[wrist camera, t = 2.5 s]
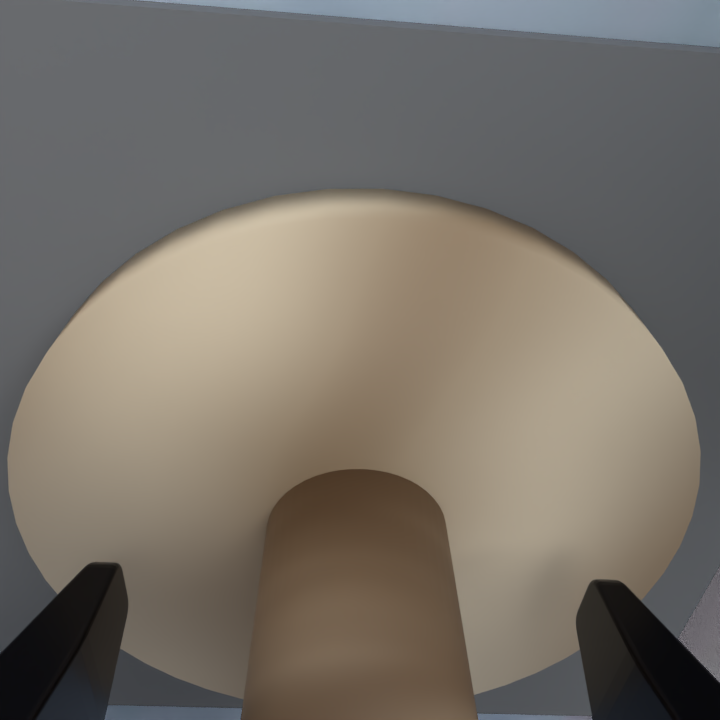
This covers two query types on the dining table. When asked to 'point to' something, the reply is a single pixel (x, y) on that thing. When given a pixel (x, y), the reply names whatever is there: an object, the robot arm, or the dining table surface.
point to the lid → (355, 452)
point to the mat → (353, 171)
